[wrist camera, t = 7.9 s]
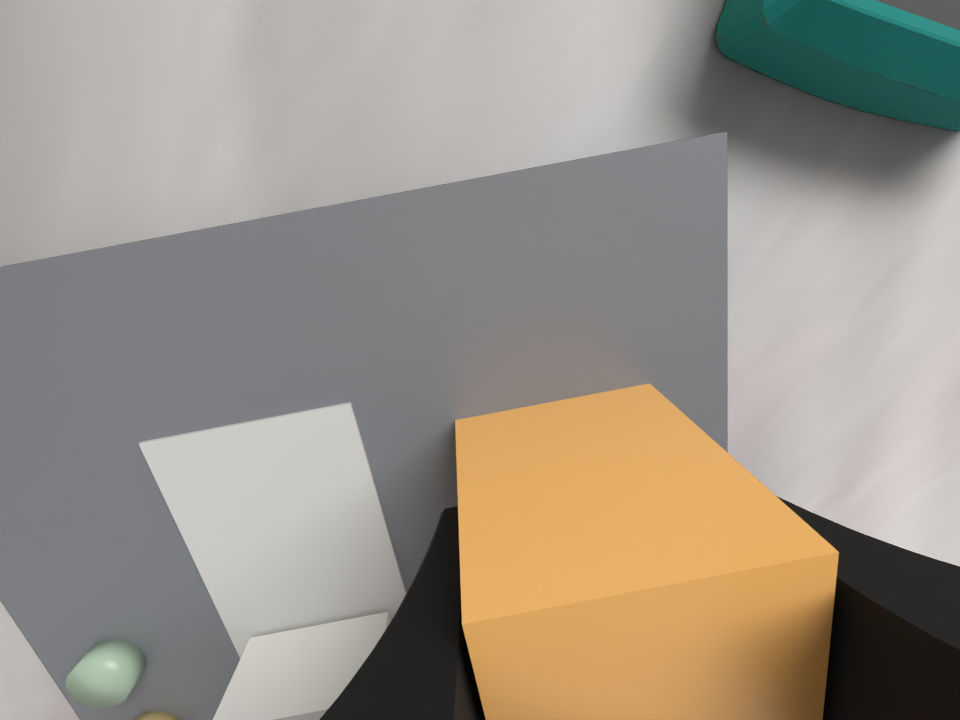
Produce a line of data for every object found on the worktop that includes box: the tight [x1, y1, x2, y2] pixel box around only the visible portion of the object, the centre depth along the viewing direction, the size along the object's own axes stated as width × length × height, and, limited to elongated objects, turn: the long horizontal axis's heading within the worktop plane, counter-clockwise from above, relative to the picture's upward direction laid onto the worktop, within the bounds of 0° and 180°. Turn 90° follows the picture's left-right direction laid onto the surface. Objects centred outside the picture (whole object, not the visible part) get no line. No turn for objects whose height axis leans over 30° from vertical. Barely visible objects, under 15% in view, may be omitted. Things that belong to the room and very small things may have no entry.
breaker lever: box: [213, 612, 391, 720], centre depth 12 cm, size 2×4×3 cm, turn 100°
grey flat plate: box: [0, 132, 727, 720], centre depth 13 cm, size 16×20×2 cm
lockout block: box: [455, 383, 839, 720], centre depth 10 cm, size 5×5×6 cm
